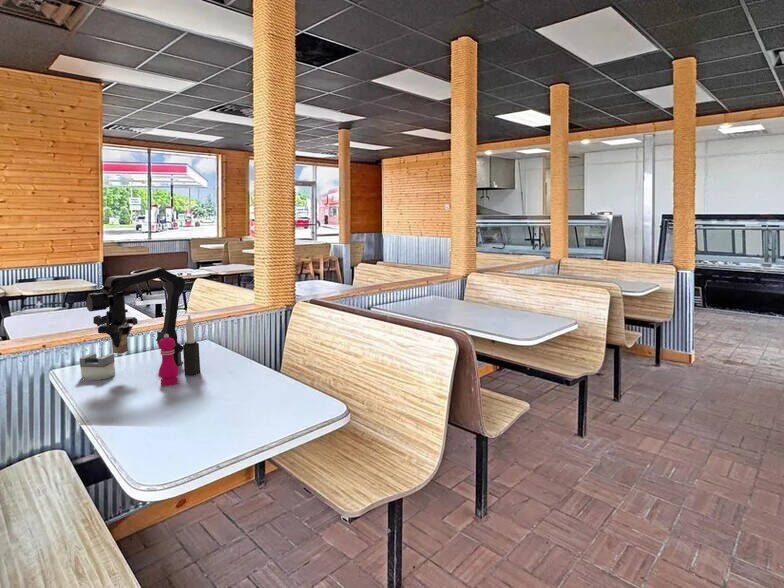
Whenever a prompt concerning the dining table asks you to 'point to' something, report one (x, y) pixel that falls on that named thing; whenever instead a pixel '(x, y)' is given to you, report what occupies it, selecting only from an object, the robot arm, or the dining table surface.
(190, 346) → the candle
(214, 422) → the dining table surface
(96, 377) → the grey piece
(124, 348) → the brown block
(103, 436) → the dining table surface
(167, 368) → the pepper mill
